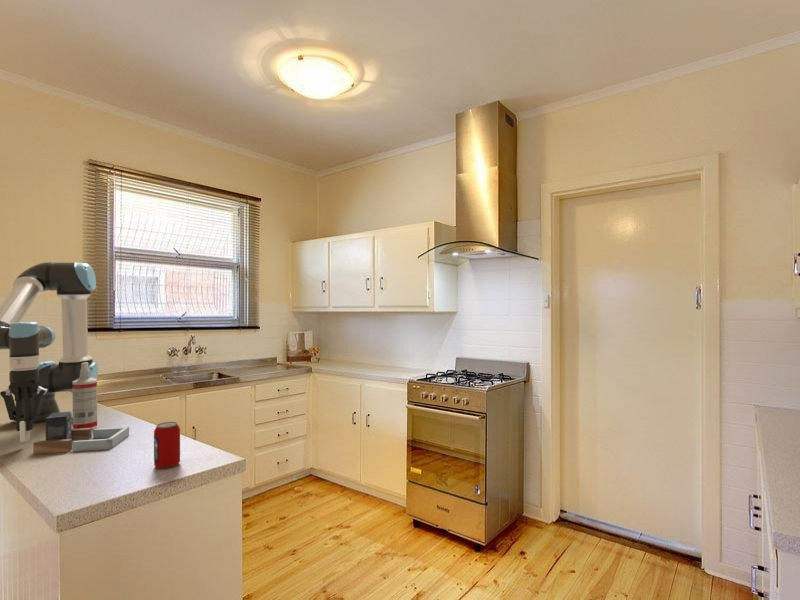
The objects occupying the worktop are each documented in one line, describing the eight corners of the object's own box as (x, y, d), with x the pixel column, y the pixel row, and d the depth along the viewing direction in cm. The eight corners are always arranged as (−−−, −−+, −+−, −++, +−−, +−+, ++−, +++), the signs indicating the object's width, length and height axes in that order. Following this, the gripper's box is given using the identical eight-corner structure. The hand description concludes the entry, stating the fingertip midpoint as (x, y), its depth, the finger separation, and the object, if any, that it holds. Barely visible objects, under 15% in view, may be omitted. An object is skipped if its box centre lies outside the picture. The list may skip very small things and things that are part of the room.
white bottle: (96, 429, 168) (96, 363, 168) (72, 432, 164) (71, 364, 164) (97, 424, 174) (97, 360, 175) (74, 427, 170) (73, 362, 171)
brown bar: (59, 439, 156) (59, 429, 156) (91, 437, 157) (91, 427, 157) (33, 454, 141) (33, 442, 141) (69, 451, 143) (69, 440, 143)
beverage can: (160, 461, 133) (160, 421, 133) (184, 460, 133) (183, 420, 133) (149, 470, 126) (149, 427, 126) (174, 469, 126) (174, 427, 127)
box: (66, 448, 147) (66, 415, 147) (45, 450, 144) (45, 417, 144) (72, 441, 154) (71, 410, 154) (51, 443, 151) (51, 412, 151)
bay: (94, 437, 158) (94, 429, 158) (129, 435, 160) (129, 427, 160) (72, 451, 143) (72, 441, 143) (110, 448, 145) (110, 439, 145)
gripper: (-7, 371, 142) (-6, 445, 142) (40, 369, 145) (40, 442, 144) (9, 368, 149) (9, 438, 149) (53, 366, 152) (53, 435, 152)
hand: (24, 440), depth 147 cm, fingers closed
